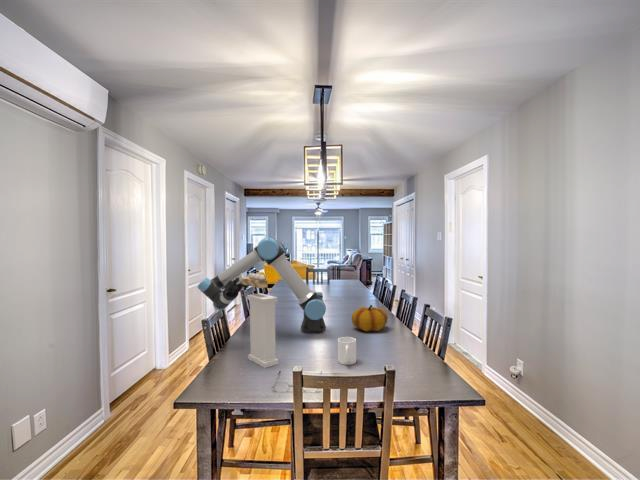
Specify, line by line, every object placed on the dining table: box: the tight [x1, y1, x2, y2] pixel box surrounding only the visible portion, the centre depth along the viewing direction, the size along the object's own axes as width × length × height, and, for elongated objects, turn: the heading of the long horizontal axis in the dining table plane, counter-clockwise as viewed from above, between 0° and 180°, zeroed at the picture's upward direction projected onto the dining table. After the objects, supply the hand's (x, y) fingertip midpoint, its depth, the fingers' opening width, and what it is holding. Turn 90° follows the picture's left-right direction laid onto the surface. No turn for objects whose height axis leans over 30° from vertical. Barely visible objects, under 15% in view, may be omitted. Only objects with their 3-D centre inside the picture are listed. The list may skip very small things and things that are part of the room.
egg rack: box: [236, 272, 268, 289], centre depth 167 cm, size 24×4×6 cm, turn 40°
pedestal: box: [246, 292, 279, 369], centre depth 160 cm, size 15×7×30 cm, turn 39°
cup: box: [337, 336, 357, 366], centre depth 157 cm, size 8×12×10 cm
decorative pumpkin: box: [351, 304, 388, 333], centre depth 211 cm, size 20×22×15 cm
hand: (246, 275), depth 170 cm, fingers closed on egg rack, 4 cm apart
